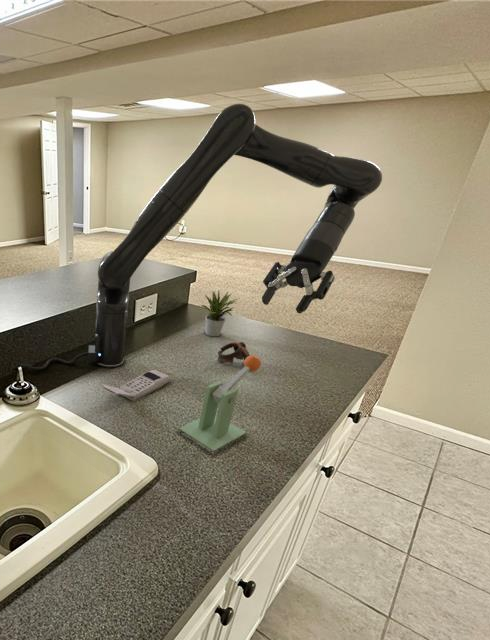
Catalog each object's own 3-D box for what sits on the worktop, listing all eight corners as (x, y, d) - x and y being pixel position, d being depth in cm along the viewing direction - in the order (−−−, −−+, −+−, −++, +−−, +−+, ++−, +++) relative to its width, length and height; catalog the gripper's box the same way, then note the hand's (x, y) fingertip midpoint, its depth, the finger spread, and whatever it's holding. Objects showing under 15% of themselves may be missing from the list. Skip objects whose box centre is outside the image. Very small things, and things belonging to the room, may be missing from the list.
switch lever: (250, 360, 94) (249, 350, 92) (264, 366, 92) (263, 355, 89) (211, 400, 91) (208, 390, 89) (224, 407, 88) (222, 397, 86)
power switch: (210, 417, 101) (220, 372, 95) (245, 437, 94) (258, 390, 88) (178, 433, 95) (186, 386, 88) (212, 455, 88) (224, 406, 81)
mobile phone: (100, 384, 102) (159, 356, 117) (98, 404, 105) (156, 374, 120) (117, 394, 98) (176, 363, 113) (116, 414, 101) (173, 381, 116)
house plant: (226, 346, 140) (236, 300, 132) (188, 336, 146) (195, 292, 138) (237, 333, 150) (247, 290, 142) (200, 325, 157) (208, 283, 149)
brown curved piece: (250, 376, 121) (241, 354, 118) (219, 380, 128) (210, 359, 124) (258, 353, 129) (250, 332, 125) (229, 357, 135) (221, 337, 132)
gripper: (284, 234, 97) (248, 293, 97) (346, 241, 86) (306, 306, 87) (293, 252, 102) (259, 308, 102) (353, 260, 91) (314, 322, 92)
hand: (280, 307), depth 95 cm, fingers open, 8 cm apart
